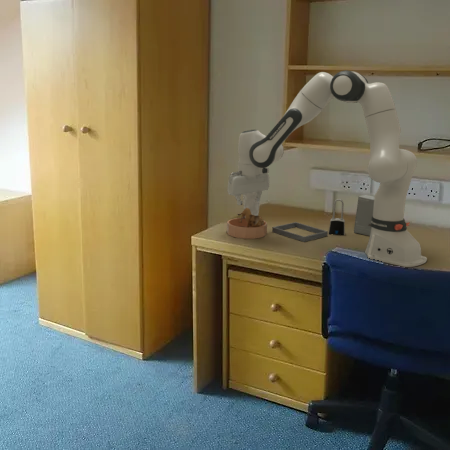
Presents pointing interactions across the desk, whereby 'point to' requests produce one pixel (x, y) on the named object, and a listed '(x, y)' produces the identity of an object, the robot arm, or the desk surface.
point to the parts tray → (282, 231)
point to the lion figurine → (251, 218)
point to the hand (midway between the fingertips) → (248, 203)
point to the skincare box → (364, 215)
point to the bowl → (245, 229)
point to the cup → (251, 203)
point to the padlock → (337, 222)
